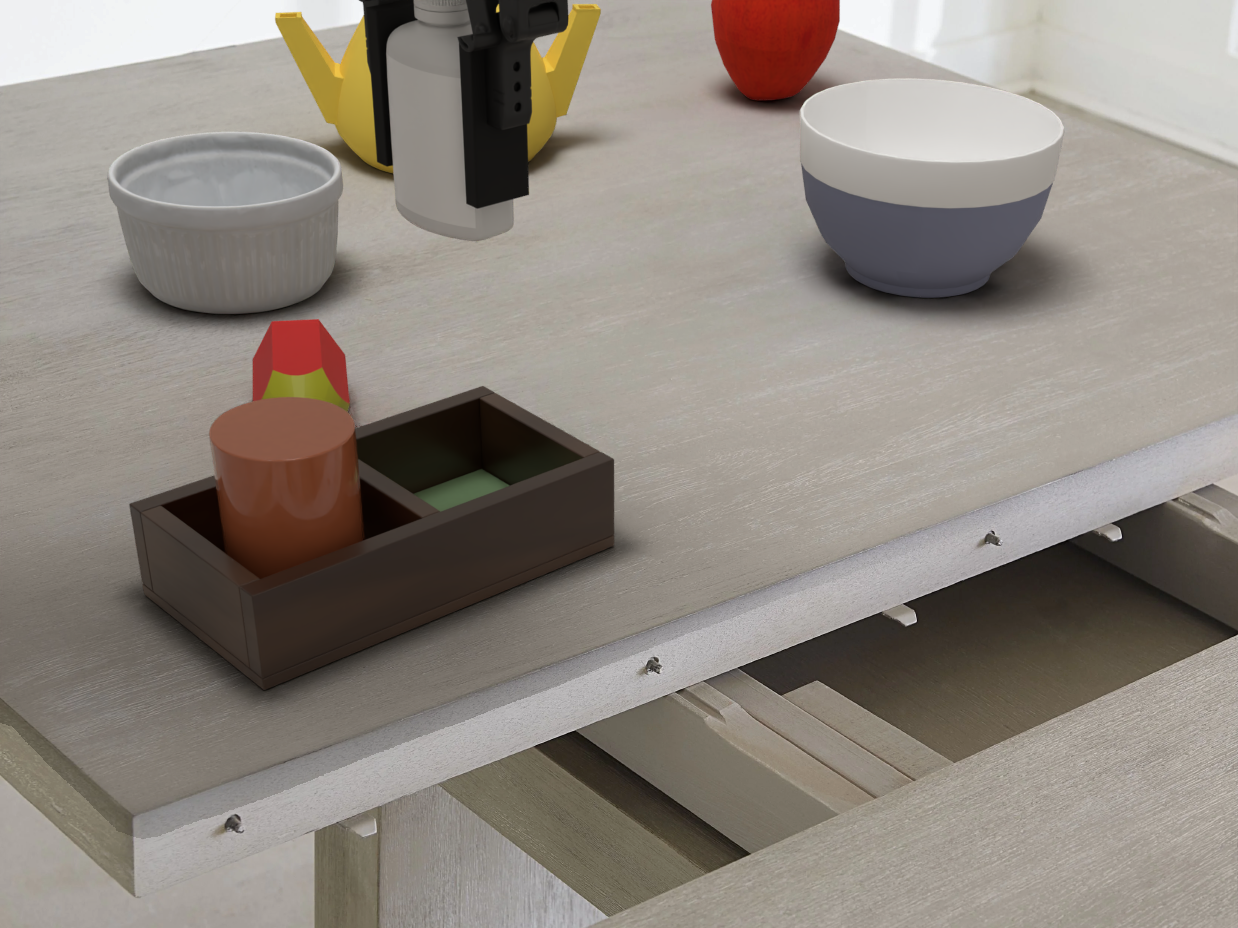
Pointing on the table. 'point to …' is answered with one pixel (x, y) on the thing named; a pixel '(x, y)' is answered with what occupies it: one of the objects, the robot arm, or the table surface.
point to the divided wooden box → (389, 537)
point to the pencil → (300, 364)
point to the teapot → (350, 90)
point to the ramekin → (229, 219)
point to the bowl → (926, 179)
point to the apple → (774, 43)
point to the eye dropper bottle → (434, 126)
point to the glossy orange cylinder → (286, 482)
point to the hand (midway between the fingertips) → (451, 177)
